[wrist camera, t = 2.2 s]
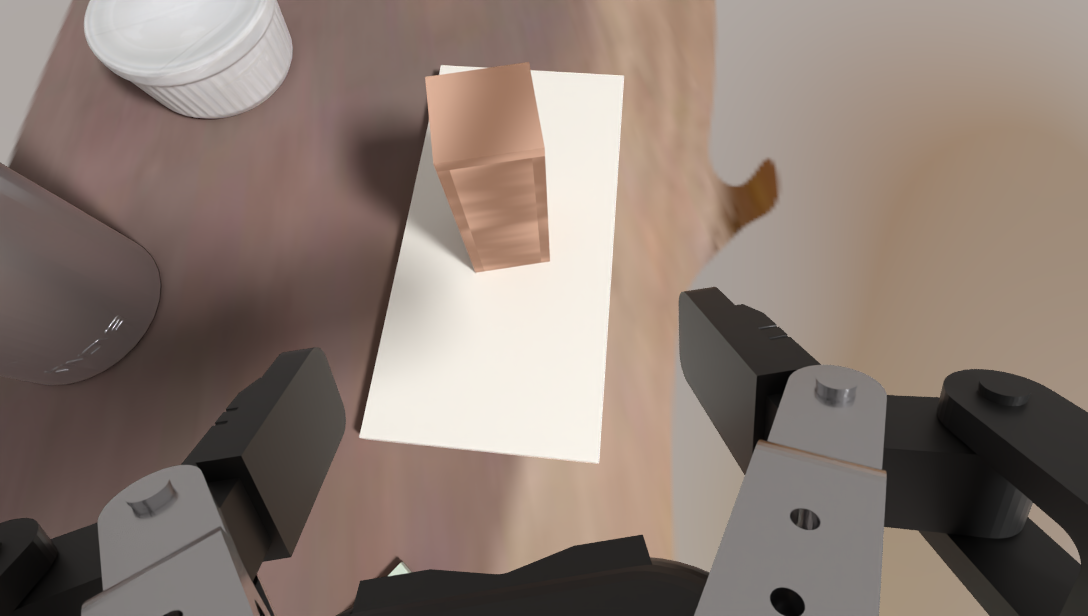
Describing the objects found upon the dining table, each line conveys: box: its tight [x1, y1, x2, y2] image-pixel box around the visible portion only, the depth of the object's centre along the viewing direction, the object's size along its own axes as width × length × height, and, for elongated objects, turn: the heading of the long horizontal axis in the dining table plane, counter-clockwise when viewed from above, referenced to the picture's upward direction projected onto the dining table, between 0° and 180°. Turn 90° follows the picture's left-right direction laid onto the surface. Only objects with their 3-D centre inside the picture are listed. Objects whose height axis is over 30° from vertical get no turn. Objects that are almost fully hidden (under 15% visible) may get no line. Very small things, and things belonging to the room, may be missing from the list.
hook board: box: [359, 65, 624, 464], centre depth 27 cm, size 24×12×7 cm, turn 174°
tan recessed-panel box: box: [425, 62, 550, 273], centre depth 24 cm, size 4×4×10 cm
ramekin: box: [84, 0, 293, 119], centre depth 33 cm, size 11×11×5 cm
